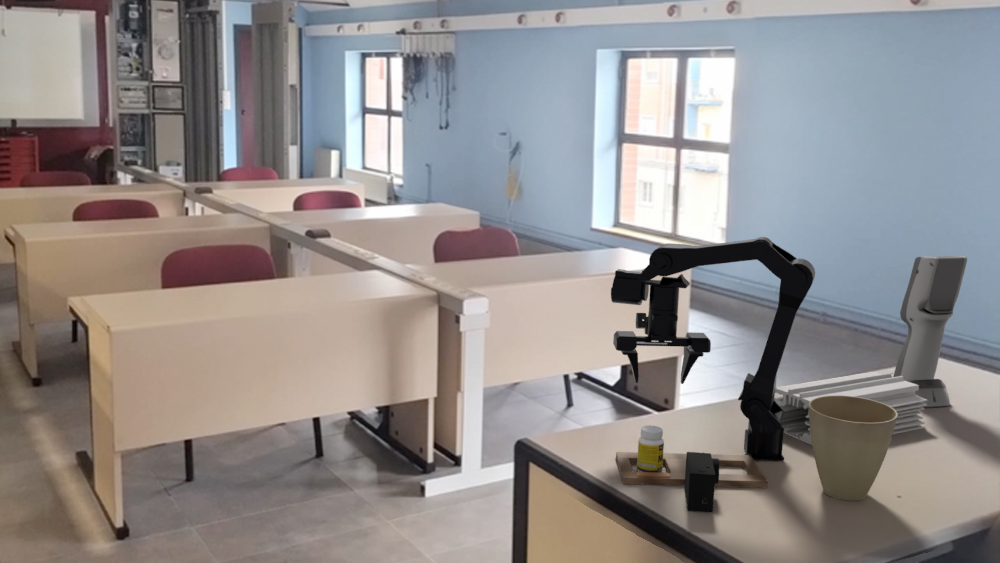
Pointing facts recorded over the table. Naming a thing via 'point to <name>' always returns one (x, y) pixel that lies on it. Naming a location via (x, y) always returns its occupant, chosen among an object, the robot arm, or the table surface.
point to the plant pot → (849, 442)
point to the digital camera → (700, 481)
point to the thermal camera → (928, 322)
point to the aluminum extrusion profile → (859, 385)
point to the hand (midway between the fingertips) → (659, 382)
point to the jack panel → (678, 467)
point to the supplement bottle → (650, 449)
